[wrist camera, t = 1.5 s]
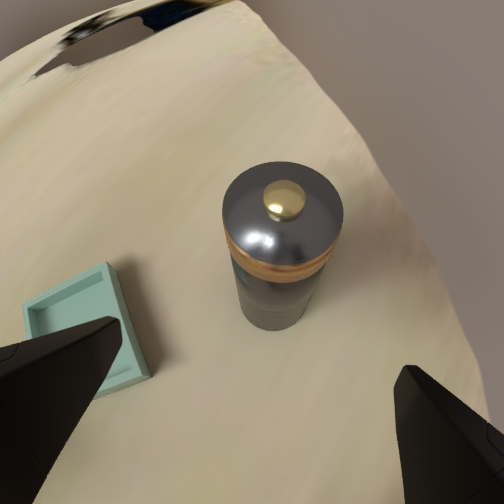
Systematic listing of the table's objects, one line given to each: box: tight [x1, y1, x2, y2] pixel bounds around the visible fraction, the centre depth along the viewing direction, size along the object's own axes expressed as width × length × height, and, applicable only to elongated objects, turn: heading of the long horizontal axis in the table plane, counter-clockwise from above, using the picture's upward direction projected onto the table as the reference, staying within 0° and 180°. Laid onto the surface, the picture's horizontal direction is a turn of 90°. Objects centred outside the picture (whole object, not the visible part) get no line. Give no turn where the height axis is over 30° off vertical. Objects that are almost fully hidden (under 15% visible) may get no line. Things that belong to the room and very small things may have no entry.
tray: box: [22, 261, 152, 400], centre depth 20 cm, size 9×9×2 cm
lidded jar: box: [222, 162, 343, 331], centre depth 17 cm, size 5×5×12 cm
